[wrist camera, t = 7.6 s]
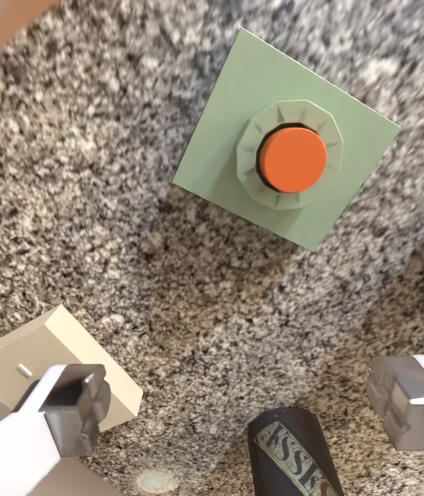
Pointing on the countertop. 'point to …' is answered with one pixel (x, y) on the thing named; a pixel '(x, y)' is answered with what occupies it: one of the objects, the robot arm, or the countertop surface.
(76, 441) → the robot arm
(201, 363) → the countertop surface
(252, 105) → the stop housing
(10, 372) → the panel
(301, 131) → the stop button
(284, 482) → the container
